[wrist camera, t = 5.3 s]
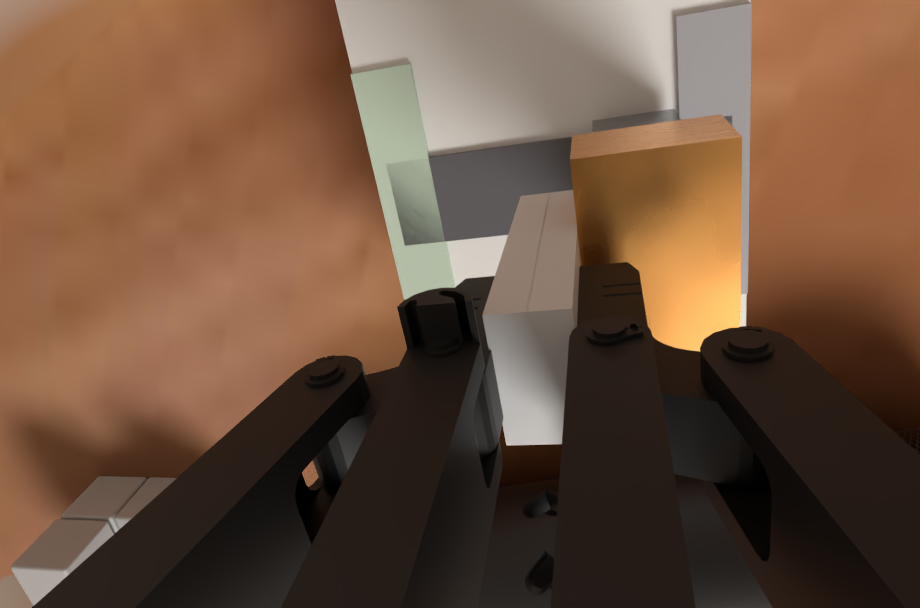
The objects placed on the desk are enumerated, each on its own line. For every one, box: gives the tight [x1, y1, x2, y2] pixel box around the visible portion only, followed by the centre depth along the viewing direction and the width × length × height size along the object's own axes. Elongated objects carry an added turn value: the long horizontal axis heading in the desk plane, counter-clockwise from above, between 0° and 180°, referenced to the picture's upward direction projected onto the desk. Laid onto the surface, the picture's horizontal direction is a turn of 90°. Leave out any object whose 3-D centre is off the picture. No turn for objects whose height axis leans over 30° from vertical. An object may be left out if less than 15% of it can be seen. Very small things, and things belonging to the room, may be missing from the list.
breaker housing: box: [335, 0, 752, 327], centre depth 25 cm, size 12×14×8 cm
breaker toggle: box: [570, 109, 742, 351], centre depth 17 cm, size 3×6×8 cm, turn 11°
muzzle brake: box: [477, 426, 920, 608], centre depth 31 cm, size 10×28×10 cm, turn 108°
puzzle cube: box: [11, 476, 177, 606], centre depth 42 cm, size 12×12×8 cm
